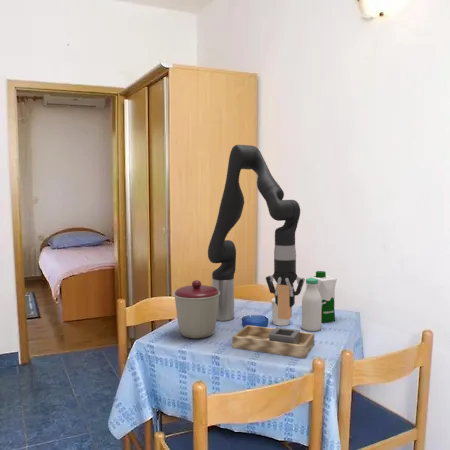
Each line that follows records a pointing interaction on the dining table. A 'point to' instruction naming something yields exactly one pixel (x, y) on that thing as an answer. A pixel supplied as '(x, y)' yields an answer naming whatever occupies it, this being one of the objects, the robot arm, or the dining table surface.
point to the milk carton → (326, 295)
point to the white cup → (275, 315)
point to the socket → (285, 335)
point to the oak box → (271, 342)
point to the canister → (196, 309)
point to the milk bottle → (311, 306)
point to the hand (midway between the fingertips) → (285, 305)
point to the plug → (284, 302)
